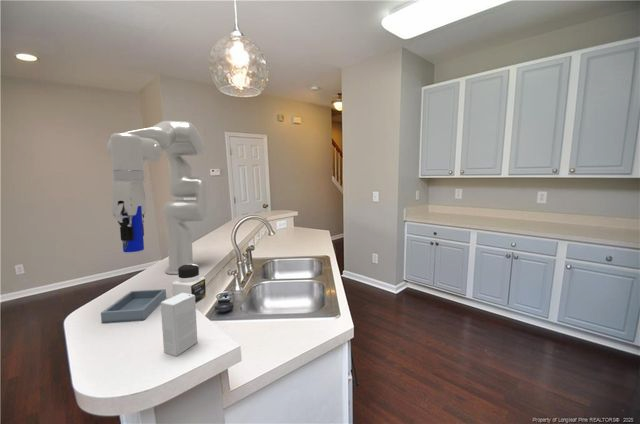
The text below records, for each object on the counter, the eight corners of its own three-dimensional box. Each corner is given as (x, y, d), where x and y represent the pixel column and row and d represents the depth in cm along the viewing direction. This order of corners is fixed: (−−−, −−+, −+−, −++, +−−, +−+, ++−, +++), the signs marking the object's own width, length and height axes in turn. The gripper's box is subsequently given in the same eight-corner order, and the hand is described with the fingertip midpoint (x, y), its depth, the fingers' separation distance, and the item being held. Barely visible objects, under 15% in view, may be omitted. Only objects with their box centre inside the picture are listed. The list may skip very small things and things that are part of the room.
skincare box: (184, 338, 66) (182, 292, 65) (198, 342, 64) (196, 294, 63) (162, 352, 60) (159, 301, 59) (176, 357, 59) (173, 305, 58)
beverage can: (122, 252, 81) (118, 202, 79) (142, 249, 84) (139, 201, 82) (124, 255, 77) (120, 203, 75) (145, 252, 80) (142, 202, 79)
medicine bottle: (192, 306, 84) (190, 269, 83) (172, 304, 85) (170, 267, 84) (206, 297, 91) (205, 263, 90) (187, 295, 92) (186, 261, 91)
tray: (131, 299, 89) (131, 291, 88) (166, 297, 90) (165, 289, 90) (101, 323, 73) (100, 312, 73) (143, 320, 75) (143, 310, 75)
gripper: (130, 178, 86) (134, 233, 88) (95, 176, 69) (100, 245, 71) (155, 178, 87) (158, 233, 89) (127, 176, 70) (131, 244, 72)
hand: (132, 237), depth 80 cm, fingers closed on beverage can, 5 cm apart
